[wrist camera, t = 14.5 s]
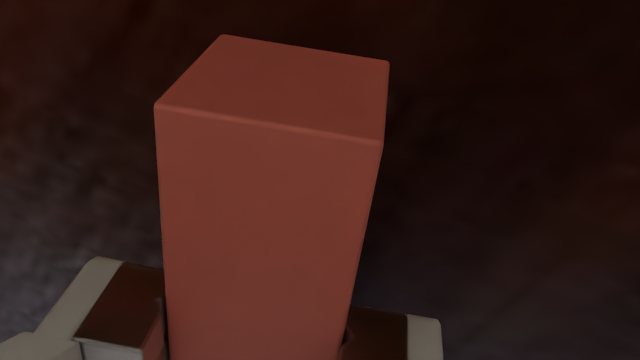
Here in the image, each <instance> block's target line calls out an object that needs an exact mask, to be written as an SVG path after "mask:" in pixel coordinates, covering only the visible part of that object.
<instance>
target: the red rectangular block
mask: <svg viewBox="0 0 640 360" xmlns="http://www.w3.org/2000/svg"><path fill="white" fill-rule="evenodd" d="M389 68H390V65H389V62H388V61H385V60H379V59H373V58H367V57H360V56H354V55H348V54H342V53H336V52H330V51H323V50H317V49H311V48H305V47H299V46H292V45H286V44H280V43H274V42H268V41H262V40H255V39H249V38H243V37H237V36H231V35H225V34H223V35H220V36H219V37H218V38H217V39H216V40H215V41H214V42H213V43H212V44H211V45H210V46H209V47H208V48H207V50H206V51H205V52H204V53H203V54H202V55H201V56H200V57H199V58H198V59H197V60H196V61H195V62H194V63H193V64H192V65H191V66H190V67H189V68H188V69H187V70H186V71H185V72H184V73H183V74H182V75H181V76H180V78H179V79H178V80H177V81H176V82H175V83H174V84H173V85H172V86H171V87H170V88H169V89H168V90H167V91H166V92H165V93H164V94H163V95H162V96H161V97H160V98H159V99H158V100H157V101H156V102H155V104H154V121H155V136H156V152H157V168H158V183H159V199H160V215H161V230H162V246H163V262H164V277H165V293H166V309H167V324H168V340H169V356H170V360H336V358H337V354H338V349H339V348H340V347H341V345H342V340H343V336H344V331H345V326H346V321H347V317H348V312H349V307H350V302H351V298H352V293H353V288H354V283H355V279H356V274H357V269H358V264H359V260H360V255H361V250H362V246H363V241H364V236H365V231H366V227H367V222H368V217H369V212H370V208H371V203H372V198H373V193H374V189H375V184H376V179H377V175H378V170H379V165H380V160H381V156H382V151H383V146H384V134H385V121H386V108H387V95H388V82H389Z"/></svg>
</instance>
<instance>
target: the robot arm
mask: <svg viewBox="0 0 640 360" xmlns="http://www.w3.org/2000/svg"><path fill="white" fill-rule="evenodd" d="M0 360H170V356H169V340H168V324H167V309H166V293H165V277H164V270H163V269H158V268H154V267H149V266H144V265H139V264H135V263H130V262H123V261H118V260H113V259H108V258H104V257H99V256H96V257H94V258H93V259H91V260H90V261H88V262H87V263H86V264H85V266H84V267H83V268H82V270H81V271H80V272H79V274H78V275H77V276H76V278H75V279H74V280H73V281H72V283H71V284H70V285H69V287H68V288H67V289H66V291H65V292H64V293H63V295H62V296H61V297H60V298H59V300H58V301H57V302H56V304H55V305H54V306H53V308H52V309H51V310H50V312H49V313H48V314H47V315H46V317H45V318H44V319H43V321H42V322H41V323H40V325H39V326H38V327H37V329H36V330H35V331H34V332H33V333H30V332H24V331H23V332H21V333H20V334H18V335H16V336H14V337H12V338H10V339H8V340H6V341H4V342H2V343H0ZM336 360H443V347H442V334H441V325H440V323H439V321H438V319H432V318H426V317H421V316H415V315H409V314H406V315H405V314H404V313H399V312H393V311H387V310H381V309H376V308H370V307H364V306H359V305H353V304H350V307H349V312H348V317H347V321H346V326H345V331H344V336H343V340H342V345H341V347H340V348H339V349H338V354H337V358H336Z"/></svg>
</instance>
